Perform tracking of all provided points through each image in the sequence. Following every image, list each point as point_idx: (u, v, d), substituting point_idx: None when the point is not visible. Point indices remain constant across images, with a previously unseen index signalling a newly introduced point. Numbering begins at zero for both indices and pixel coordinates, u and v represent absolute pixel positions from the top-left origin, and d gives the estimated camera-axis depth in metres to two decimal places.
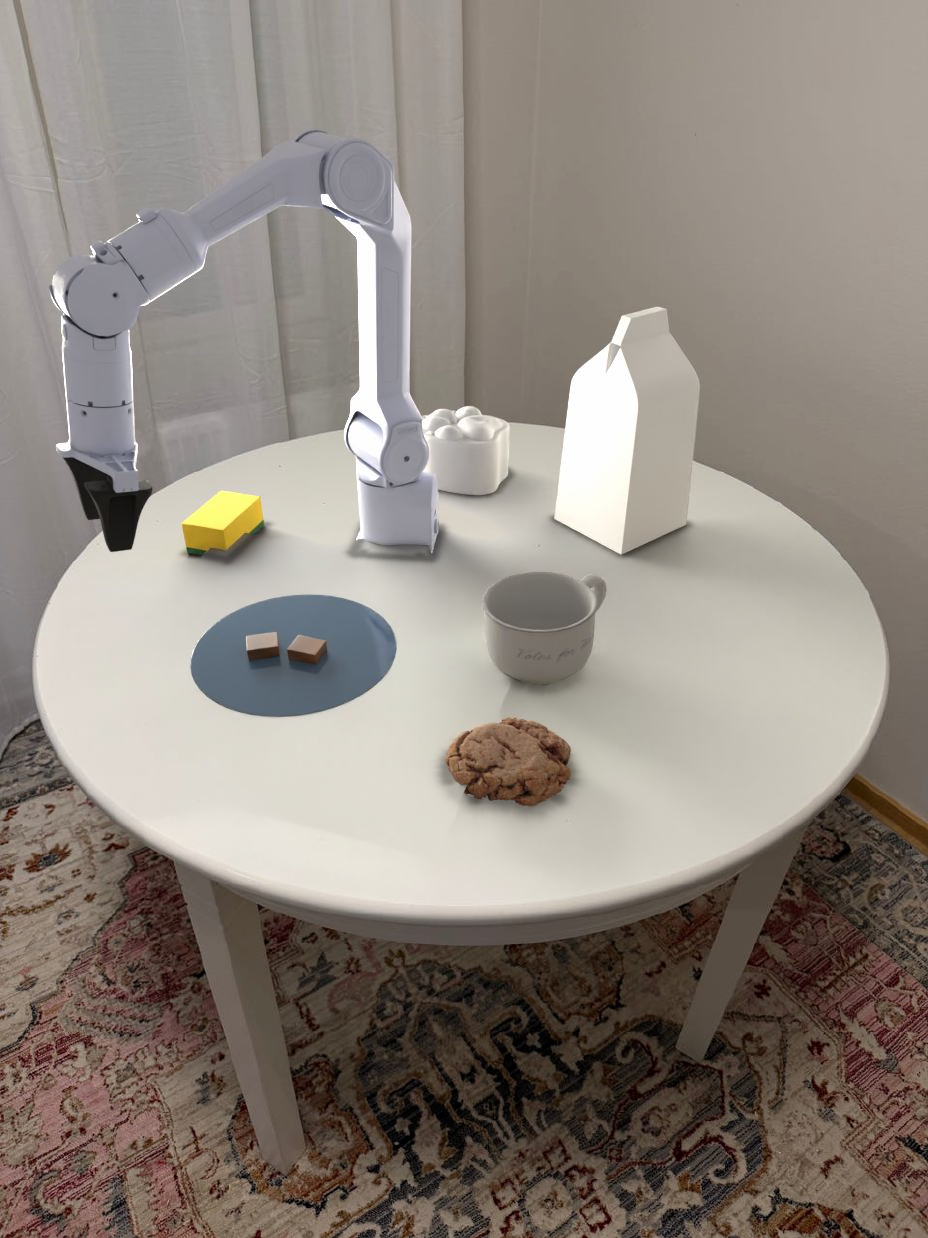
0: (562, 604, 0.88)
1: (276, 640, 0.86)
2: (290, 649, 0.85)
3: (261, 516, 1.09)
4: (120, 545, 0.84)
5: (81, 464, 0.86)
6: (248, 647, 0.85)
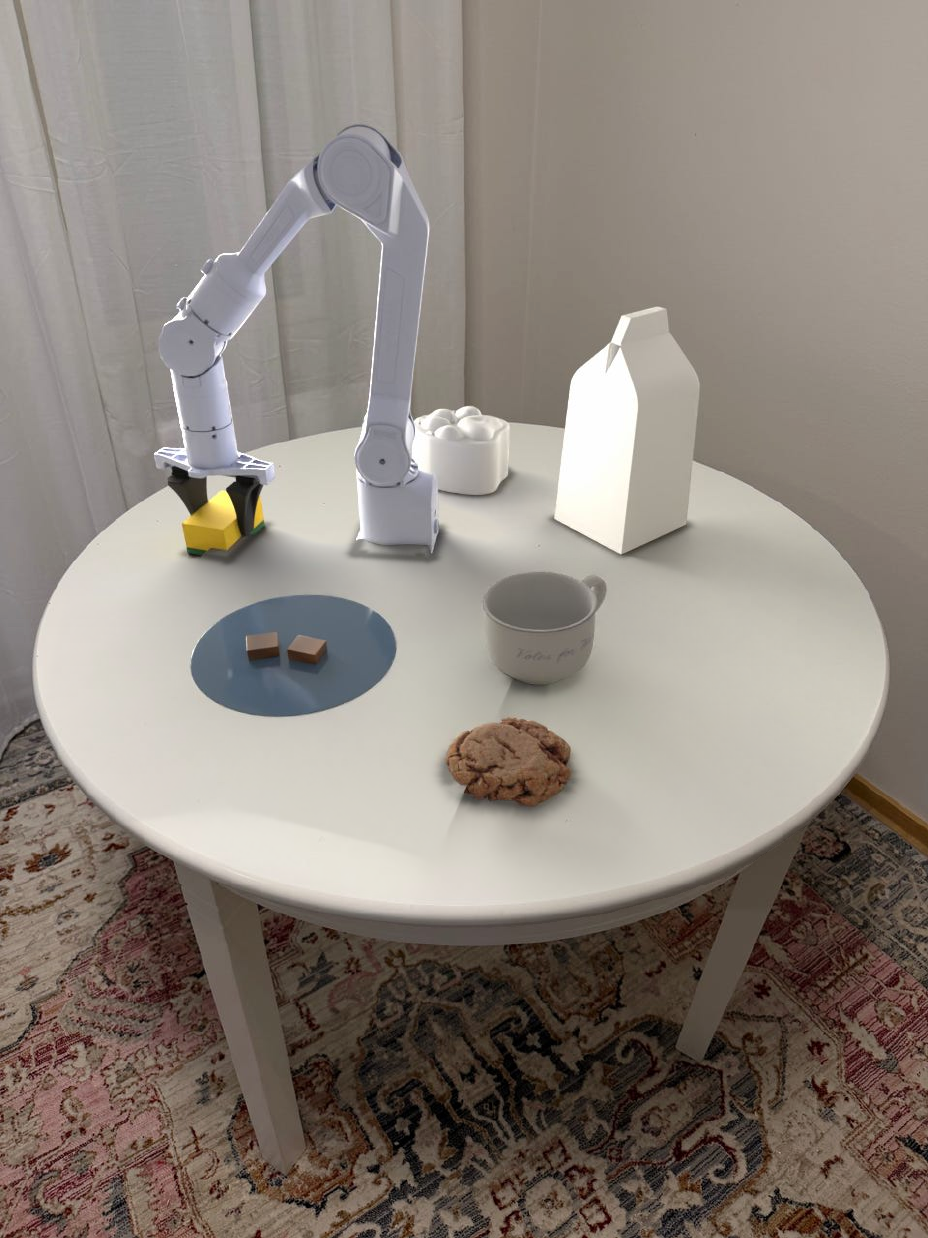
0: (562, 604, 0.88)
1: (276, 640, 0.86)
2: (290, 649, 0.85)
3: (261, 516, 1.09)
4: (249, 528, 1.05)
5: (190, 485, 1.03)
6: (248, 647, 0.85)
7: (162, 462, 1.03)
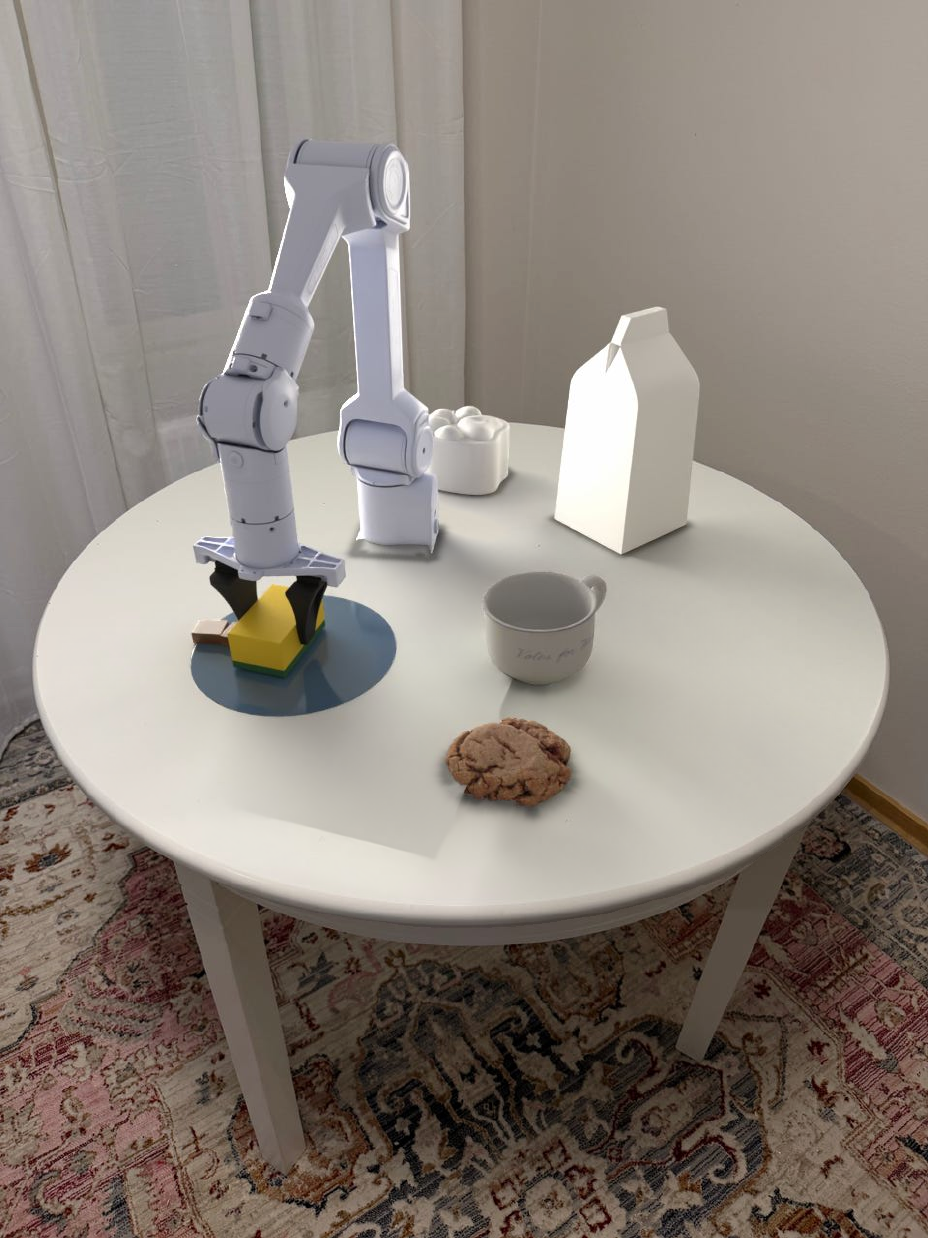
0: (562, 604, 0.88)
1: (222, 628, 0.87)
2: (223, 635, 0.86)
3: (322, 616, 0.88)
4: (310, 635, 0.85)
5: (239, 584, 0.82)
6: (194, 630, 0.87)
7: (203, 555, 0.82)
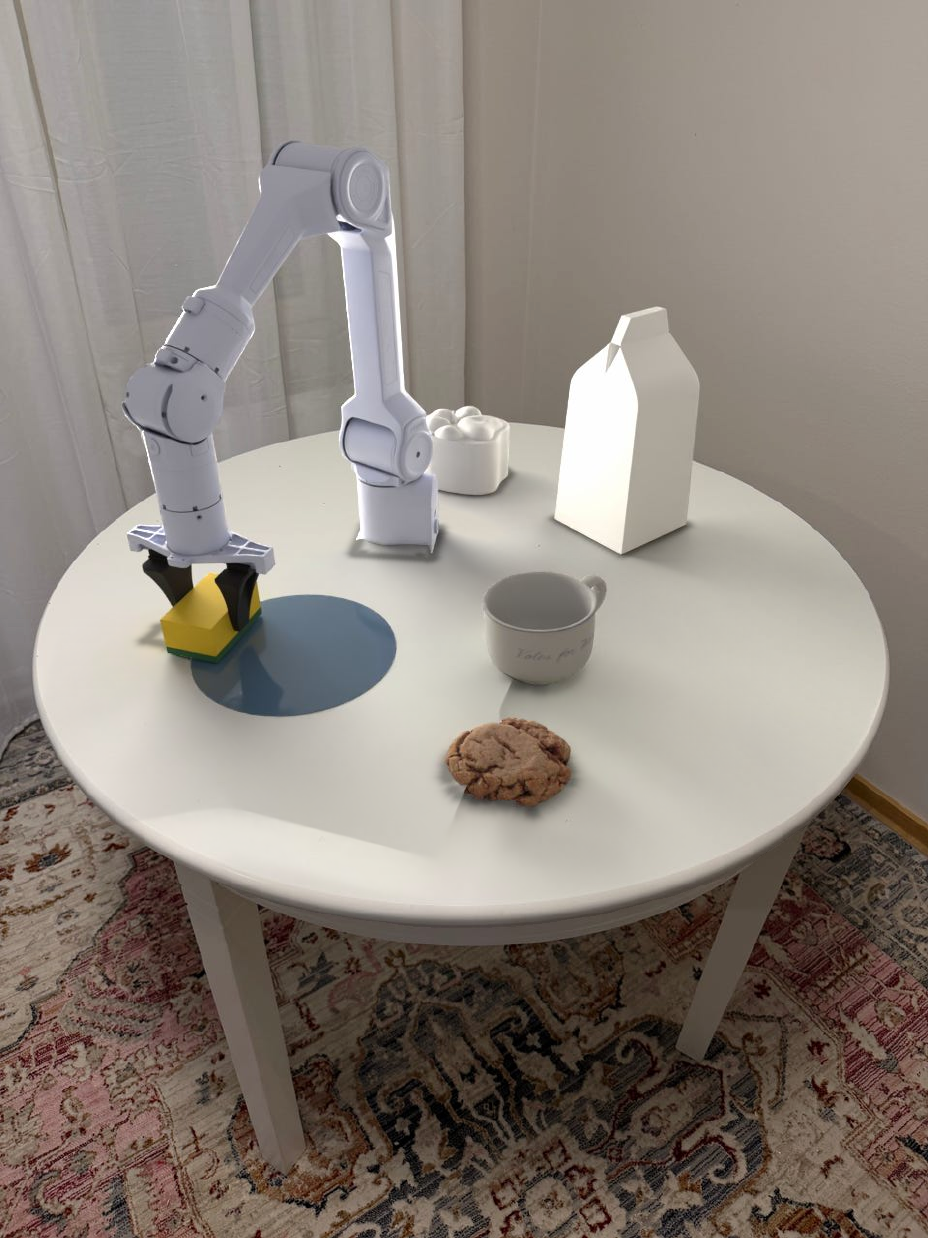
0: (562, 604, 0.88)
1: None
2: None
3: (258, 604, 0.90)
4: (244, 621, 0.87)
5: (172, 571, 0.84)
6: None
7: (137, 543, 0.84)
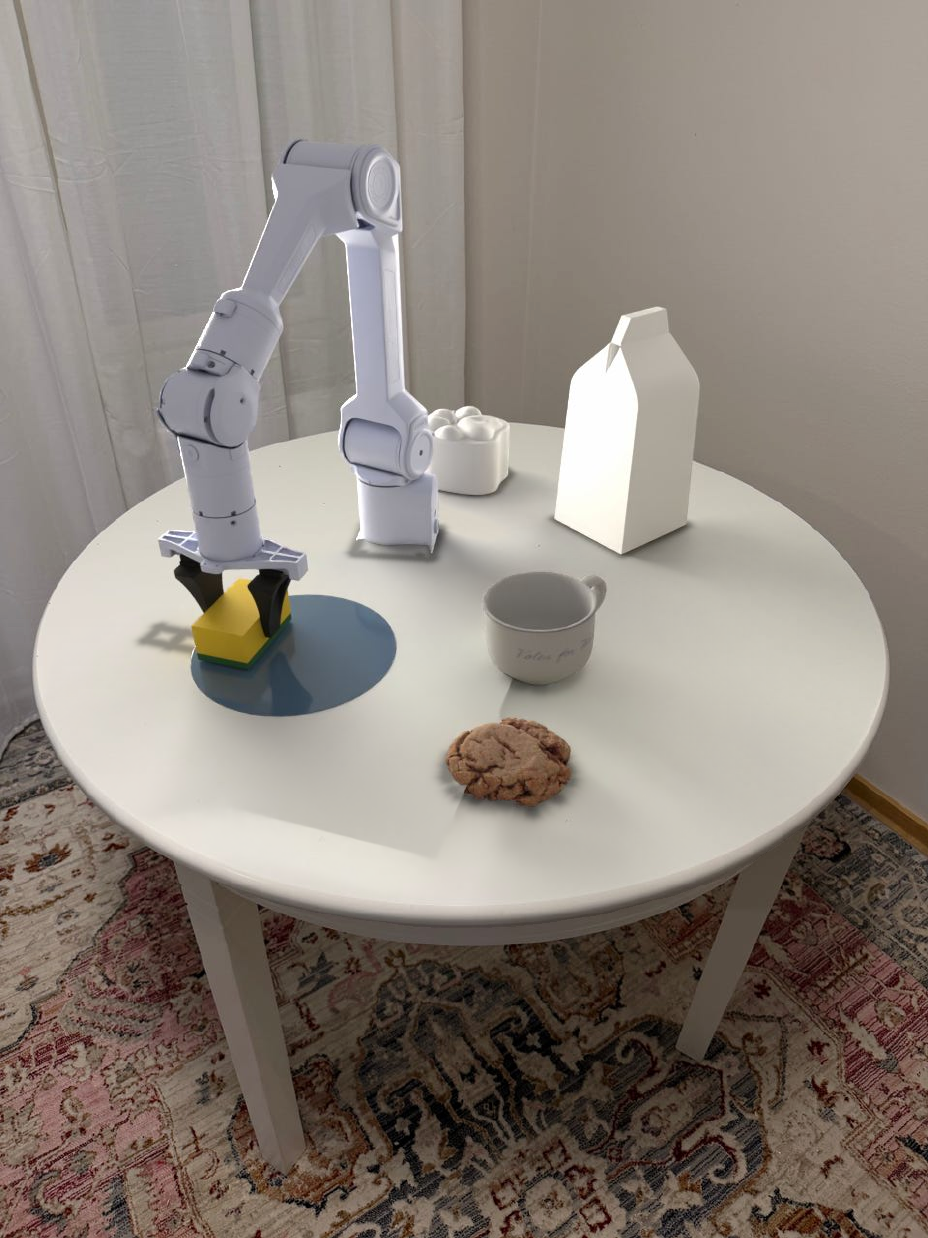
0: (562, 604, 0.88)
1: None
2: None
3: (288, 609, 0.89)
4: (275, 628, 0.86)
5: (203, 577, 0.83)
6: None
7: (168, 549, 0.83)
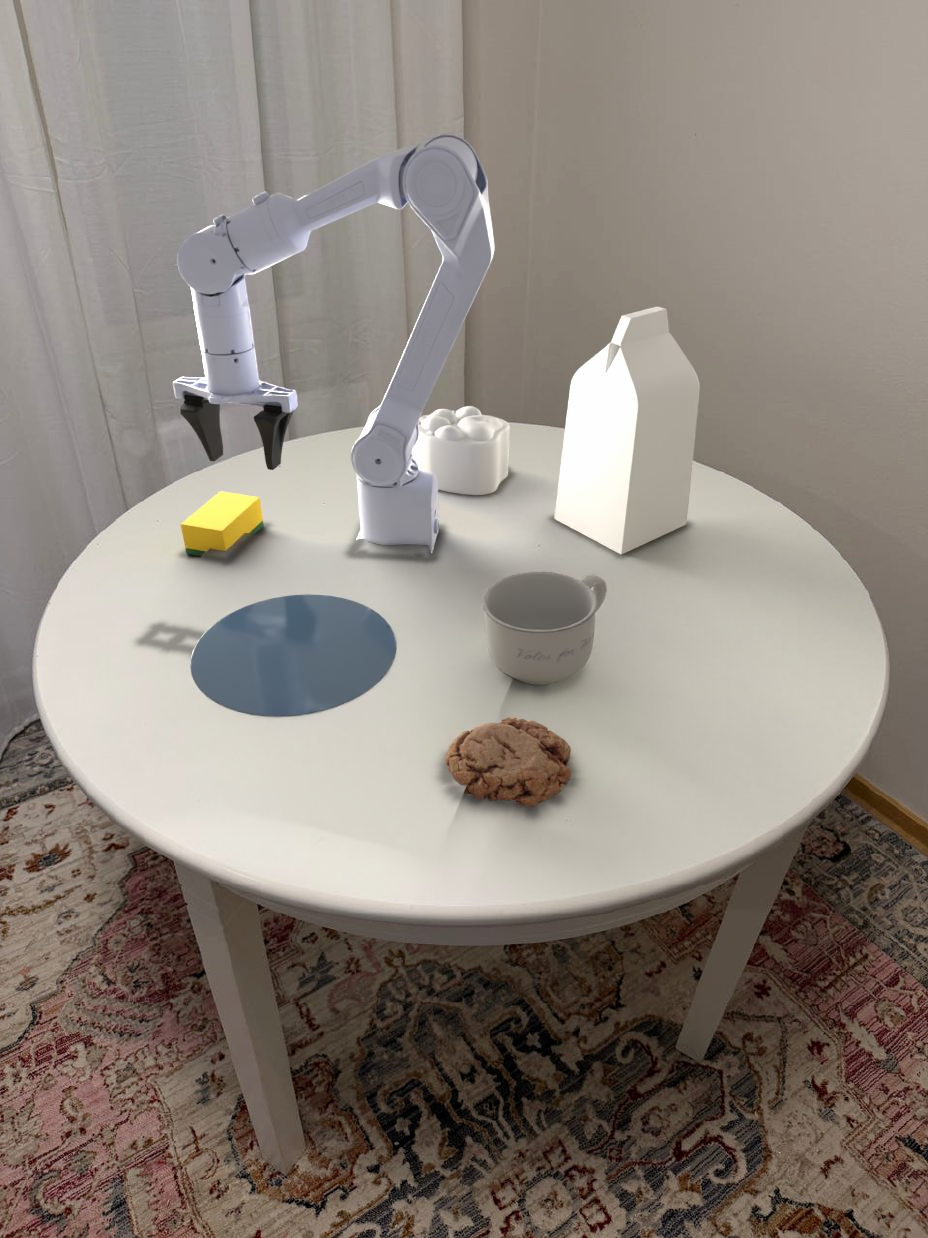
0: (562, 604, 0.88)
1: None
2: None
3: (260, 517, 1.09)
4: (276, 462, 1.02)
5: (203, 414, 1.00)
6: None
7: (181, 391, 1.00)
